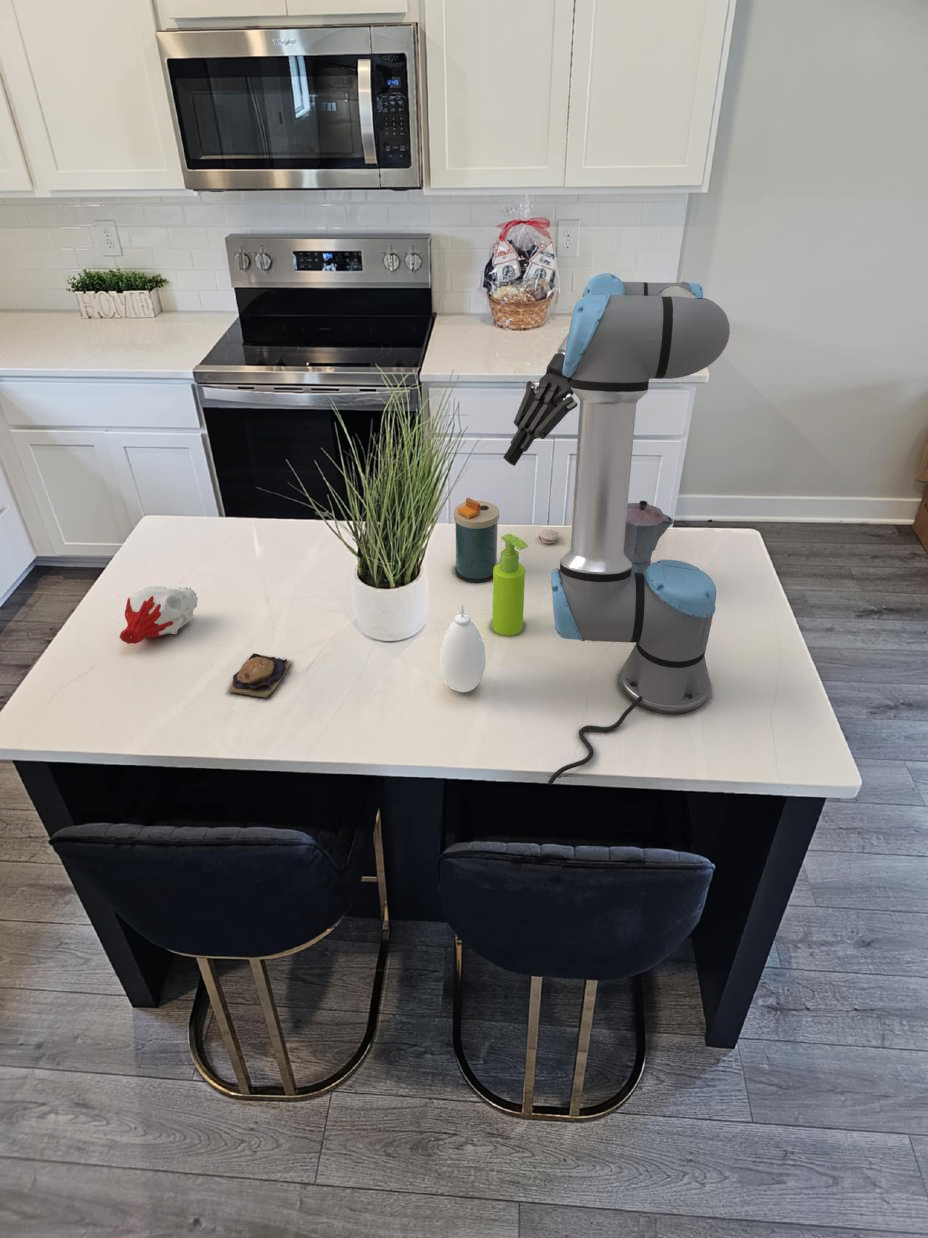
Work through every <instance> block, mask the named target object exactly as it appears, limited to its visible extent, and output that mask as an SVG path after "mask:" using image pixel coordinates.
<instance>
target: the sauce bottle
mask: <svg viewBox="0 0 928 1238" xmlns="http://www.w3.org/2000/svg"><path fill="white" fill-rule="evenodd" d="M441 642H442V643H441V645H440V650H439V669H440V672H441V676H442V678H443V681H444V682H445V684H446V685H447V686H448V687H449V688H450V689H451V690H453V691H455V692H458V693H469V692H470V691H472V690H474V689H475V688H476V687H478V685H479V684H480V682H481V680H482V678H483V675H484V672H485V670H486V649H485V644H484V639H483V638H482V635H481V633H480V631H479V629H478V627H477V625H475V624H474V622H473V621H472V620H471V617H470V615H468V614H466V613H465V611H464V604H463V603H461V607H460V613H458V614H456V615H455V617H454V620H453V621H452V622H451V624H450V625H449V626H448V628H447V629H446V632H445V634H444V637H443V639H442V641H441Z"/></svg>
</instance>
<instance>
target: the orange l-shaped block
mask: <svg viewBox="0 0 928 1238" xmlns="http://www.w3.org/2000/svg"><path fill="white" fill-rule="evenodd" d="M476 501H477V500H474V499H472V498H470V497H466V498H465V502H466V505H465V506H463V507H460V508H458V512H459V513H460V514H462V515H464V516H466V517H467V518H471V517H474V516H476V515H478V514H480V503H478V502H476Z"/></svg>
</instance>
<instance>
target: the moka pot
mask: <svg viewBox="0 0 928 1238" xmlns="http://www.w3.org/2000/svg"><path fill="white" fill-rule="evenodd" d="M673 524H675V521H674V519H673V517H670V516H669V515H667V514H665V513H663V511H662V510H661V508H660V507H658V506H654V505H651V504H648V501H647V500H640V501H639V502H628V506H627V518H626V529H625V540H624V555H625V556H626V557H627V558H628V559H629V560H630V561H631V563H632V570H631V572H632V573H645V571H646V569H647V567H648V566H649V565H650V564H651V563H652V556H653V552H655V550H656V549H657V546H658V544H659V540H660V538H661V537H662V536H663V535H664V534H665V532H666V531H667V530H668V528H670V526H671V525H673Z"/></svg>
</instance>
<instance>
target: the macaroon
mask: <svg viewBox="0 0 928 1238" xmlns="http://www.w3.org/2000/svg"><path fill="white" fill-rule="evenodd" d="M558 538H559V532H558V531H556V530H552V529H543V530H540V531H539V532H538V540H540V541H541V543H544V544H554V543H555V542H556V541H557V539H558Z"/></svg>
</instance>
